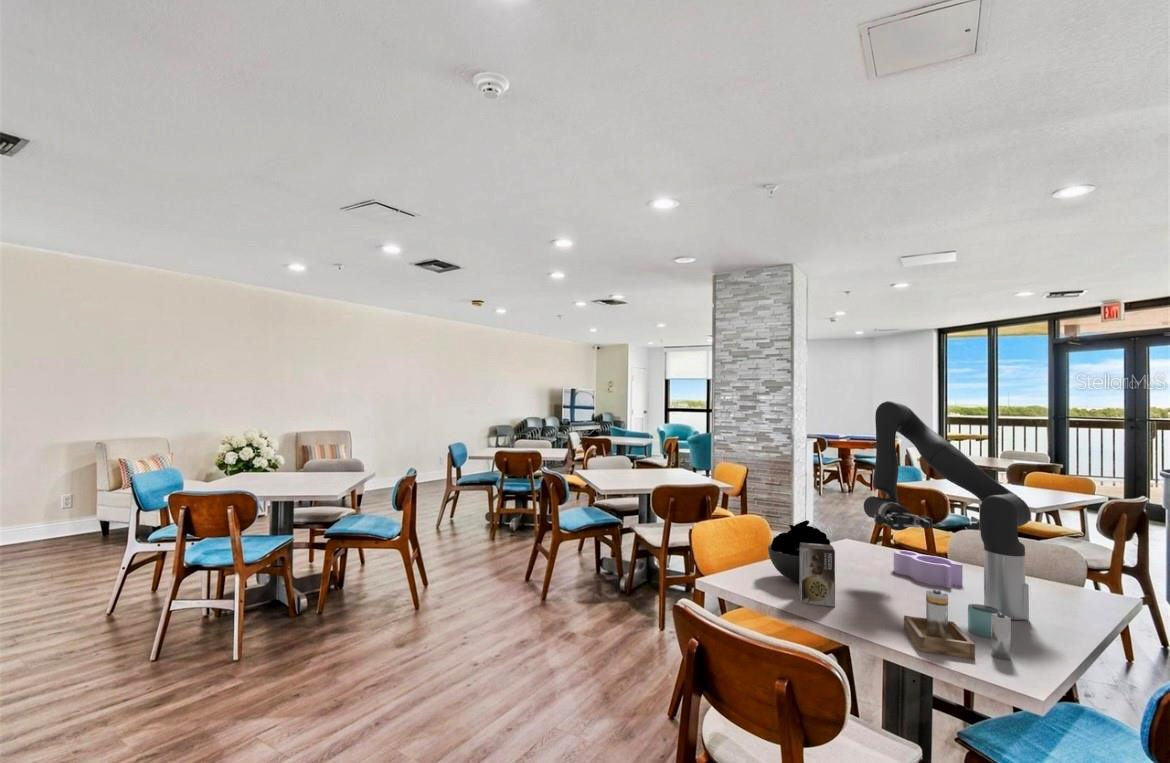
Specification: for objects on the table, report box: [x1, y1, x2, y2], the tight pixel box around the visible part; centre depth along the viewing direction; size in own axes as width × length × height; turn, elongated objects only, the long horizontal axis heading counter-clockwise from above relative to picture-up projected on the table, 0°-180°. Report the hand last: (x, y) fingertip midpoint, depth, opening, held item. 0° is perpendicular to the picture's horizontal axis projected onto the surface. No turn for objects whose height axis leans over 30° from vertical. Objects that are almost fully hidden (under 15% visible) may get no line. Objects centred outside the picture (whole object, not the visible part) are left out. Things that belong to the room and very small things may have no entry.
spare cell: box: [990, 613, 1012, 661], centre depth 126 cm, size 4×4×10 cm
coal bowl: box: [767, 519, 831, 583], centre depth 178 cm, size 20×20×19 cm
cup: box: [967, 603, 1002, 639], centre depth 140 cm, size 7×7×6 cm
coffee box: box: [798, 542, 836, 608], centre depth 159 cm, size 9×6×16 cm
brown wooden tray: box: [903, 615, 976, 660], centre depth 132 cm, size 11×14×3 cm
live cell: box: [925, 589, 949, 639], centre depth 132 cm, size 4×4×12 cm
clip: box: [893, 549, 964, 589], centre depth 186 cm, size 20×12×7 cm, turn 27°
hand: (909, 524), depth 152 cm, fingers open, 8 cm apart
